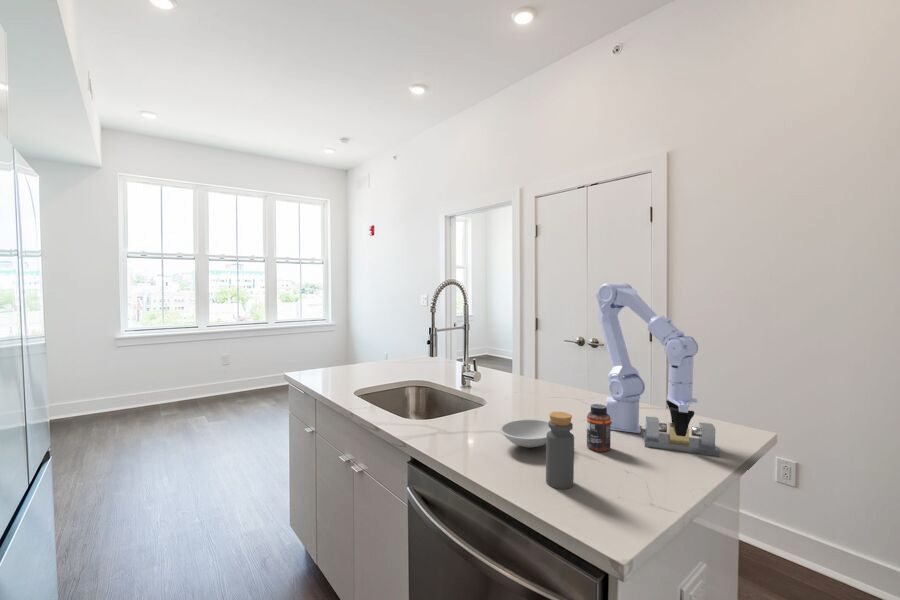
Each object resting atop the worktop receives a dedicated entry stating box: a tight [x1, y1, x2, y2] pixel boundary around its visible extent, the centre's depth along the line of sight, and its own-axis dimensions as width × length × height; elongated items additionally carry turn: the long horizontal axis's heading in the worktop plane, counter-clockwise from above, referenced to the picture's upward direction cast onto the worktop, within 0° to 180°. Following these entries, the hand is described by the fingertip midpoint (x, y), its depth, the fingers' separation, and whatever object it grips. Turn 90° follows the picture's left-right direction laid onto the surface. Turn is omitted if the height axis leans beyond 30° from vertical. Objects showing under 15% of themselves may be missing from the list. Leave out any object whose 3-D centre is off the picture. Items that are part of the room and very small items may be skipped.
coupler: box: [667, 422, 690, 444], centre depth 113 cm, size 4×4×4 cm
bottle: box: [545, 411, 575, 490], centre depth 91 cm, size 6×6×15 cm
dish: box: [498, 418, 551, 449], centre depth 112 cm, size 18×14×5 cm
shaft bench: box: [642, 416, 720, 457], centre depth 113 cm, size 17×8×6 cm, turn 68°
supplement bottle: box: [586, 403, 612, 453], centre depth 111 cm, size 6×6×11 cm
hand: (678, 431), depth 113 cm, fingers open, 6 cm apart
